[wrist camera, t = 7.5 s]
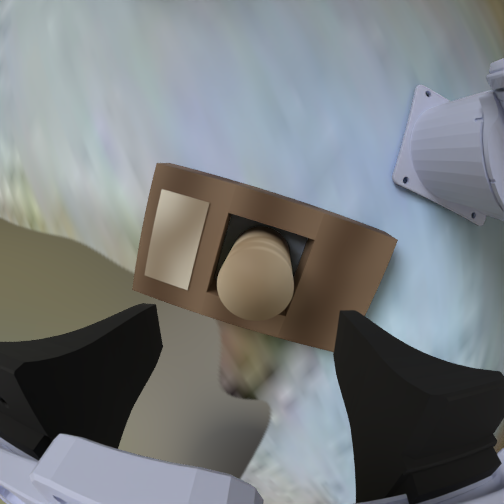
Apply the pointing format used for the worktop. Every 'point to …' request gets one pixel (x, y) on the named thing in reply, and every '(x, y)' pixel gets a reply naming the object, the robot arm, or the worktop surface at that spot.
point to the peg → (257, 275)
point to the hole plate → (267, 212)
